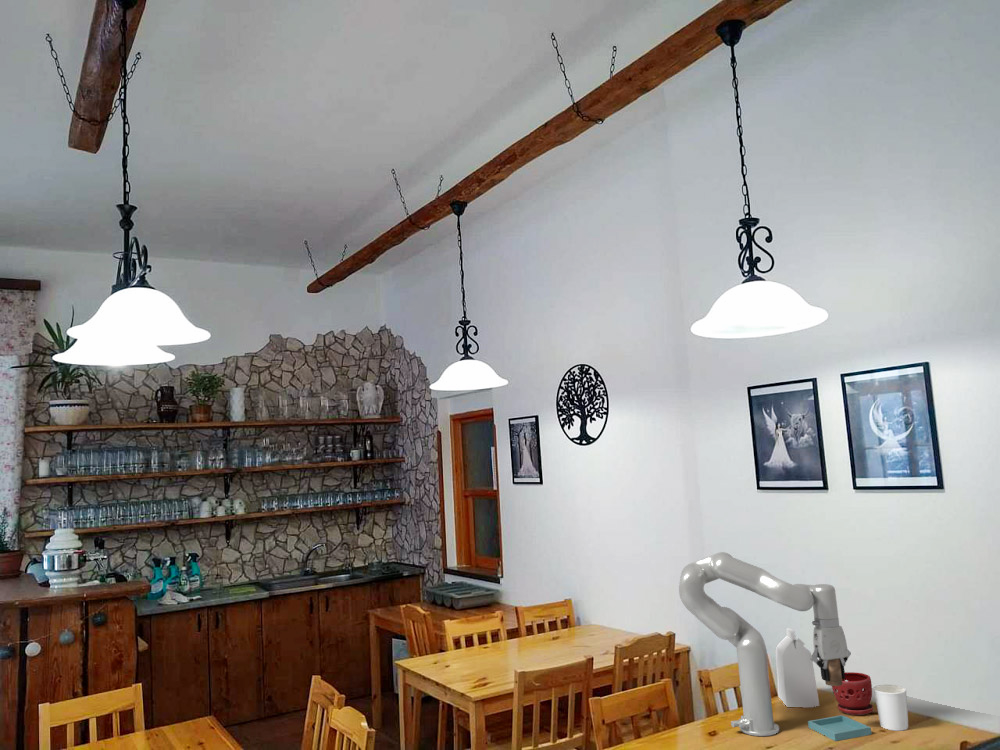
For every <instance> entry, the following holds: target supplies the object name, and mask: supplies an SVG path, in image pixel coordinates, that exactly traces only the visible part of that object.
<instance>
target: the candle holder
mask: <svg viewBox="0 0 1000 750" xmlns="http://www.w3.org/2000/svg"><path fill="white" fill-rule="evenodd" d="M872 690H873V692H874V698H875V704H876V709H877V714H878V720H879V724H880V728H882V727H883V728H882V729H884V728H885V730H887V729H888V731H893V732H895V731H896V732H901V731H906V730H908V728H909V712H908V699H907V689H906V687H904V686H900V685H895V684H879V685H875V686H874V687H872Z"/></svg>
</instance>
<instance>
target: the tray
mask: <svg viewBox="0 0 1000 750" xmlns="http://www.w3.org/2000/svg"><path fill="white" fill-rule="evenodd" d="M807 725H808V729H810V728H811V729H810V730H812V729H813V730H812V731H814V730H815V731H814V732H816V731H817V732H816V733H818V732H819V733H818V734H820V733H821V734H820V735H822V734H823V735H822V736H824V735H825V736H824V737H826V736H827V737H826V738H828V739H830V740H832V741H834V742H838V741H843V740H850V739H854V738H860V737H865V736H870V735H871V734H872V727H871V726H868V725H866V724H864V723H861V722H859V721H857V720H854V719H853V718H850V717H848V716H846V715H843V714H842V715H841V714H840V715H836V716H830V717H824V718H820V719H813V720H807ZM871 736H872V735H871Z"/></svg>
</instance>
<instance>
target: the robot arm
mask: <svg viewBox="0 0 1000 750" xmlns="http://www.w3.org/2000/svg"><path fill="white" fill-rule="evenodd" d="M717 580H722V581H724V582H728V583H730V584H732V585H734V586H738V587H740V588H742V589H745V590H747V591H750V592H752V593H755V594H757V595H759V596H760V597H764V598H766V599H769V600H771V601H772V602H775V603H777V604H780V605H782V606H785V607H787V608H790V609H792V610H794V611H798V612H807V611H809V610H811V609H812V608H813V620H812V622H811V624H812V626H815V627H813V638H812V639H813V652H812V653H811V655H812V656H811V658H810V659H811V660H812V661H813V663H815V664H816V665H817V666H818V667H819V668H820V674H821V676H820V677H821V680H823V681H824V682H825V681H830V678H829V670H828V669H827V661H828V660H833V659H840V666H841V675H842V679H845V667H846V663H847V661H848V659H849V658H850V657H851V655H852V653H851V651H850V650H849V649H848V644H847V639H846V634H845V633H844V628H843V627H842V626H841V625H840V618H839V611H838V604H837V602H838V601H837V595H836V588H835V587H834V586H833V585H831V584H828V583H827V584H826V583H825V584H824V583H823V584H822V583H820V584H804V583H794V584H792V583H789V582H787V581H786V580H785V581H784V580H783V579H780V578H778V577H776V576H774V575H773V574H771V572H768V571H767V570H765V569H763V568H762V567H758V566H756V565H754V564H750V563H747V562H745V561H743V560H740V559H737V558H734V557H733V556H732V555H731V554H730V553H727V552H725V551H723V552H722V551H720V552H717V553H714V554H712V555H709V556H707V557H704V558H701V559H698V560H696V561H693V562H690V563H688V564H687V565H684V568H682V570H681V574H680V578H679V582H678V583H679V585H678V593H679V598H680V600H681V603H682V604H683V605H684V607H685V608H686V609H687V610H688V611H689V612H690V614H692V615H693V616H694V617H695V618H696V619H698V620H699V622H701V624H703V625H704V626H705V627H707V628H708V630H710V631H711V632H712V633H714V635H716V636H717V637H718V638H719V639H722V640H725V641H728V642H729V643H731V645H732V646H734V647H735V648H736V655H737V657H736V658H737V664H738V674H739V677H738V678H739V683H740V693H741V704H742V712H743V713H742V715H741V716H740V718H739V719H738V720H731V721H730V724H731V727H732V728H736V727H738V728H739V730H740V732H742V733H744V734H746V735H750V736H754V737H769V736H774V735H776V733H777V734H778V733H779V732H780V726H779V725H778V724H777V723H775V721H774V713H773V704H772V694H771V684H770V676H769V665H768V650H767V646H766V642H765V640H764V638H763V635H762V634H761V632H760V631H758V630H757V629H756V628H755V627H754V626H753V625H751V623H749V622H748V621H747V620H745V619H744V618H743V617H742V616H741V615H739V614H738V613H737V612H736V611H735V610H733V609H732V608H729V607H727V606H721V604H719V603H717V601H715V599H713V598H712V597H710V596H709V595H708V594H707V593H706V592H705V589H704V588H705V585H706V584H709V583H711V582H714V581H717Z"/></svg>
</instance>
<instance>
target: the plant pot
mask: <svg viewBox="0 0 1000 750" xmlns="http://www.w3.org/2000/svg"><path fill="white" fill-rule="evenodd" d="M842 683H843V684H842V685H841V686H831V689H832V692H833V694H834V695H833V696H834V698H835V700H836V701H837V703H838V704H837V708H838V710H839V711H840V712H842V713H844V714H845V715H849V716H864V715H868V714H870V713H872V711H873V710H874V705H873V704H871V702H872V699H873V685H872V679H871V676H870V675H869V674H866V673H863V672H862V673H861V672H854V671H853V672H848V671H847V672H845V679H842Z"/></svg>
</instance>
